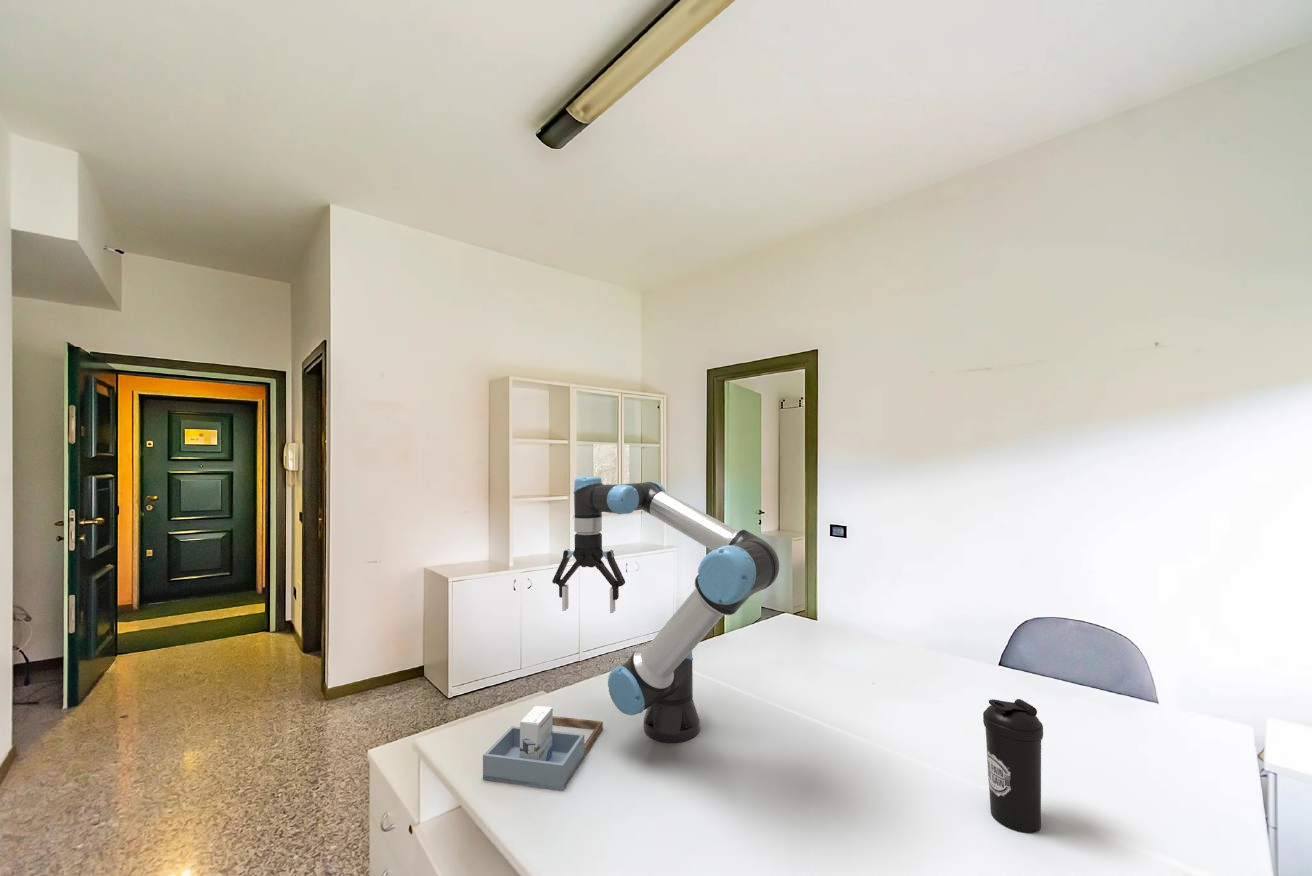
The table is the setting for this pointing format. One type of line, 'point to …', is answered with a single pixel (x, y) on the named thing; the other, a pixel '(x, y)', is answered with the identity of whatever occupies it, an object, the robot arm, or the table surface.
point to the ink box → (536, 734)
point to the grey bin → (534, 761)
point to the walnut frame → (581, 724)
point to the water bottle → (1014, 764)
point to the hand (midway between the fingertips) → (588, 610)
